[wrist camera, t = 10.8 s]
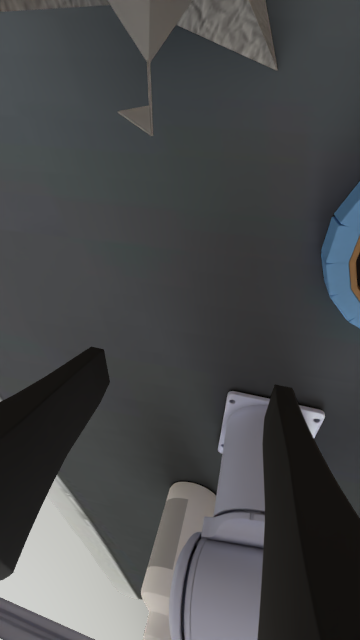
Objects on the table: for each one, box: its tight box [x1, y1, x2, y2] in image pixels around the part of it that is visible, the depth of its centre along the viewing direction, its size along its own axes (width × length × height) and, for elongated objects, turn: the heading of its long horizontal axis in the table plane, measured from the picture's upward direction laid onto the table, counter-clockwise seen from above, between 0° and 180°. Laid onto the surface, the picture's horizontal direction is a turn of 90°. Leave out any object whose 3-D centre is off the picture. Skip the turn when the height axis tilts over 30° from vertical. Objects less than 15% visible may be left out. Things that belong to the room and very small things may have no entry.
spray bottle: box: [141, 482, 216, 640], centre depth 30 cm, size 7×7×18 cm
